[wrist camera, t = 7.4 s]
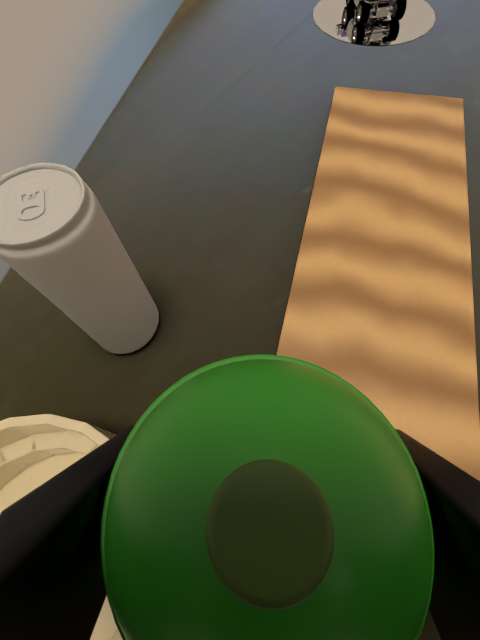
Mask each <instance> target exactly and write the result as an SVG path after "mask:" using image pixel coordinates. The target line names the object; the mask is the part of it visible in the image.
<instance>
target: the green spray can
mask: <svg viewBox="0 0 480 640" xmlns="http://www.w3.org/2000/svg"><path fill="white" fill-rule="evenodd" d="M100 545H101V560H102V572H103V577H104V583H105V588H106V594H107V598H108V601H109V605H110V608H111V611H112V614H113V618H114V621H115V624H116V626H117V628H118V630H119V632H120V635H121V637H122V639H123V640H418V639H419V636H420V634H421V631H422V629H423V627H424V623H425V619H426V615H427V611H428V608H429V604H430V600H431V593H432V585H433V578H434V537H433V528H432V519H431V514H430V510H429V505H428V501H427V496H426V493H425V490H424V487H423V484H422V481H421V478H420V475H419V473H418V470H417V468H416V466H415V464H414V462H413V459H412V457H411V455H410V453H409V451H408V449H407V448H406V446H405V444H404V443H403V441H402V439H401V438H400V436H399V434H398V433H397V431H396V430H395V428H394V427H393V426H392V425H391V423H390V422H389V421H388V419H387V418H386V417H385V416H384V414H383V413H382V412H381V411H380V410H379V409H378V408H377V407H376V406H375V405H374V404H373V403H372V402H371V401H370V400H369V399H368V398H367V397H366V396H365V395H364V394H362V393H361V392H360V391H359V390H358V389H356V388H355V387H354V386H353V385H351V384H350V383H348V382H347V381H345V380H344V379H342V378H341V377H339V376H337V375H336V374H334V373H332V372H330V371H328V370H326V369H324V368H322V367H320V366H317V365H314V364H311V363H309V362H306V361H303V360H299V359H295V358H290V357H286V356H278V355H268V354H264V355H245V356H238V357H232V358H228V359H224V360H221V361H217V362H214V363H211V364H209V365H207V366H204V367H202V368H199V369H197V370H196V371H194V372H192V373H190V374H188V375H187V376H185V377H183V378H182V379H180V380H179V381H178V382H176V383H175V384H173V385H172V386H171V387H169V388H168V389H167V390H166V391H165V392H164V393H163V394H161V395H160V396H159V397H158V398H157V399H156V400H155V401H154V402H153V403H152V404H151V405H150V407H149V408H148V409H147V410H146V411H145V412H144V414H143V415H142V416H141V417H140V419H139V420H138V422H137V423H136V425H135V426H134V428H133V429H132V431H131V432H130V434H129V435H128V437H127V439H126V441H125V443H124V445H123V447H122V449H121V451H120V453H119V455H118V458H117V460H116V463H115V465H114V468H113V470H112V473H111V476H110V480H109V484H108V487H107V491H106V495H105V501H104V507H103V514H102V521H101V543H100Z"/></svg>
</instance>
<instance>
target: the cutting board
mask: <svg viewBox="0 0 480 640" xmlns="http://www.w3.org/2000/svg"><path fill="white" fill-rule="evenodd" d="M276 355H278V356H286V357H290V358H295V359H299V360H303V361H306V362H309V363H311V364H314V365H317V366H320V367H322V368H324V369H326V370H328V371H330V372H332V373H334V374H336V375H337V376H339V377H341V378H342V379H344V380H345V381H347V382H348V383H350V384H351V385H353V386H354V387H355V388H356V389H358V390H359V391H360V392H361V393H362V394H364V395H365V396H366V397H367V398H368V399H369V400H370V401H371V402H372V403H373V404H374V405H375V406H376V407H377V408H378V409H379V410H380V411H381V412H382V413H383V414H384V416H385V417H386V418H387V419H388V421H389V422H390V423H391V425H392V426H393V427H394V428H395V429H399V430H401V431H403V432H404V433H406V434H407V435H409V436H410V437H412V438H414V439H415V440H417V441H418V442H420V443H421V444H423V445H424V446H426V447H427V448H429V449H431V450H432V451H434V452H435V453H437V454H438V455H440V456H441V457H443V458H445V459H446V460H448V461H449V462H451V463H452V464H454V465H455V466H457V467H459V468H460V469H462V470H463V471H465V472H466V473H468V474H469V475H471V476H473V477H474V478H476V479H477V480H479V481H480V423H479V403H478V384H477V365H476V345H475V326H474V306H473V287H472V267H471V248H470V229H469V209H468V190H467V170H466V151H465V132H464V112H463V99H460V98H450V97H439V96H429V95H419V94H408V93H398V92H387V91H377V90H366V89H356V88H346V87H335V91H334V96H333V100H332V105H331V109H330V114H329V118H328V123H327V128H326V132H325V137H324V141H323V146H322V150H321V155H320V159H319V164H318V168H317V173H316V177H315V182H314V186H313V191H312V195H311V200H310V204H309V209H308V213H307V218H306V223H305V227H304V232H303V236H302V241H301V245H300V250H299V254H298V259H297V263H296V268H295V272H294V277H293V281H292V286H291V290H290V295H289V299H288V304H287V308H286V313H285V317H284V322H283V327H282V331H281V336H280V340H279V345H278V349H277V354H276Z"/></svg>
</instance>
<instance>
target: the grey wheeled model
mask: <svg viewBox="0 0 480 640" xmlns="http://www.w3.org/2000/svg"><path fill="white" fill-rule="evenodd" d="M313 18H314V21H315V23H316V25H317V26H318V27H319V28H320V29H321V30H322V31H323V32H325V33H327V34H328V35H330V36H332V37H334V38H337V39H339V40H342V41H345V42H349V43H355V44H360V45H373V46H384V45H394V44H400V43H404V42H408V41H411V40H414V39H416V38H418V37H420V36H422V35H424V34H425V33H427V32H428V31H429V30H430V29H431V28H432V27H433V24H434V22H435V14H434V11H433V9H432V8H431V7H430V5H429V4H428V3H427V2H425V1H424V0H321V1H320V2H319V3H318V4H317V5H316V7H315V8H314V12H313Z"/></svg>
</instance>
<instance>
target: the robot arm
mask: <svg viewBox="0 0 480 640" xmlns="http://www.w3.org/2000/svg"><path fill="white" fill-rule="evenodd" d="M134 426H135V425H131V426H129V427H127V428H126V429H124V430H123V431H121V432H120V433H118V434H117V435H115V436H114V437H112V438H111V439H109V440H108V441H106V442H105V443H103V444H102V445H100V446H99V447H97V448H96V449H94V450H93V451H91V452H90V453H88V454H87V455H85V456H84V457H82V458H81V459H79V460H78V461H76V462H75V463H73V464H72V465H70V466H69V467H67V468H66V469H64V470H63V471H61V472H60V473H58V474H57V475H55V476H54V477H52V478H51V479H49V480H48V481H46V482H45V483H43V484H42V485H40V486H39V487H37V488H36V489H34V490H33V491H31V492H30V493H28V494H27V495H25V496H24V497H22V498H21V499H19V500H18V501H16V502H15V503H13V504H12V505H10V506H9V507H7V508H6V509H4V510H3V511H2V512H1V514H0V640H90V638H91V635H92V633H93V630H94V627H95V625H96V622H97V619H98V617H99V614H100V612H101V609H102V606H103V604H104V601H105V598H106V596H107V594H106V588H105V583H104V577H103V572H102V560H101V545H100V543H101V521H102V514H103V507H104V501H105V495H106V491H107V487H108V484H109V480H110V476H111V473H112V470H113V468H114V465H115V463H116V460H117V458H118V455H119V453H120V451H121V449H122V447H123V445H124V443H125V441H126V439H127V437H128V435H129V434H130V432H131V431H132V429H133V428H134ZM395 430H396V431H397V433H398V434H399V436H400V438H401V439H402V441H403V443H404V444H405V446H406V448H407V449H408V451H409V453H410V455H411V457H412V459H413V462H414V464H415V466H416V468H417V470H418V473H419V475H420V478H421V481H422V484H423V487H424V490H425V493H426V496H427V501H428V505H429V510H430V514H431V519H432V528H433V537H434V578H433V585H432V593H431V600H430V604H429V610H430V613H431V615H432V617H433V620H434V622H435V625H436V627H437V630H438V632H439V635H440V637H441V639H442V640H480V481H479V480H477V479H476V478H474V477H473V476H471V475H469V474H468V473H466V472H465V471H463V470H462V469H460V468H459V467H457V466H455V465H454V464H452V463H451V462H449V461H448V460H446V459H445V458H443V457H441V456H440V455H438V454H437V453H435V452H434V451H432V450H431V449H429V448H427V447H426V446H424V445H423V444H421V443H420V442H418V441H417V440H415V439H414V438H412V437H410V436H409V435H407V434H406V433H404V432H403V431H401V430H399V429H395Z"/></svg>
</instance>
